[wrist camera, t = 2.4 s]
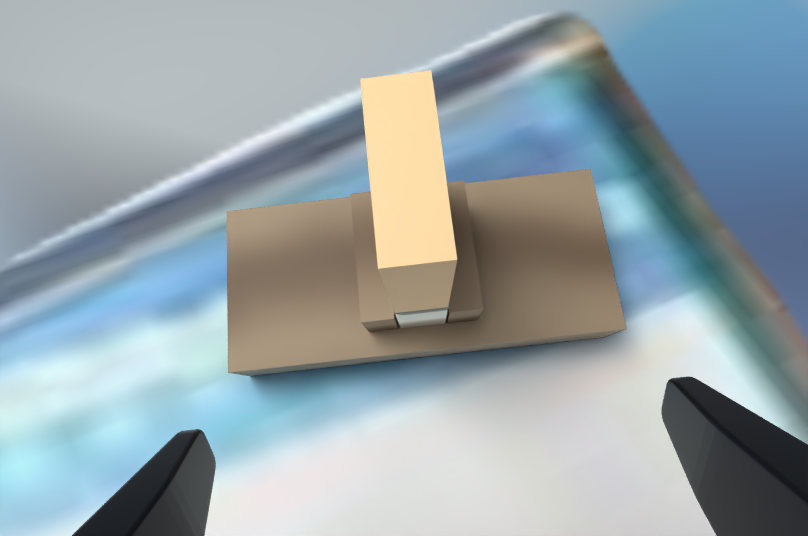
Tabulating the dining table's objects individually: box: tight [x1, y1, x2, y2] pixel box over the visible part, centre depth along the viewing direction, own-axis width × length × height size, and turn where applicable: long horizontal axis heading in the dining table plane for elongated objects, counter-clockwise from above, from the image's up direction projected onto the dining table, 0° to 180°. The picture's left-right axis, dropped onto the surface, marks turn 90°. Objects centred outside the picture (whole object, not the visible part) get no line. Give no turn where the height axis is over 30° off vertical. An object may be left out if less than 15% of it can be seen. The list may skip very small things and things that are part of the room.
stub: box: [360, 71, 457, 315], centre depth 15 cm, size 5×2×6 cm, turn 6°
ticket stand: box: [227, 169, 626, 376], centre depth 21 cm, size 7×16×6 cm, turn 96°
